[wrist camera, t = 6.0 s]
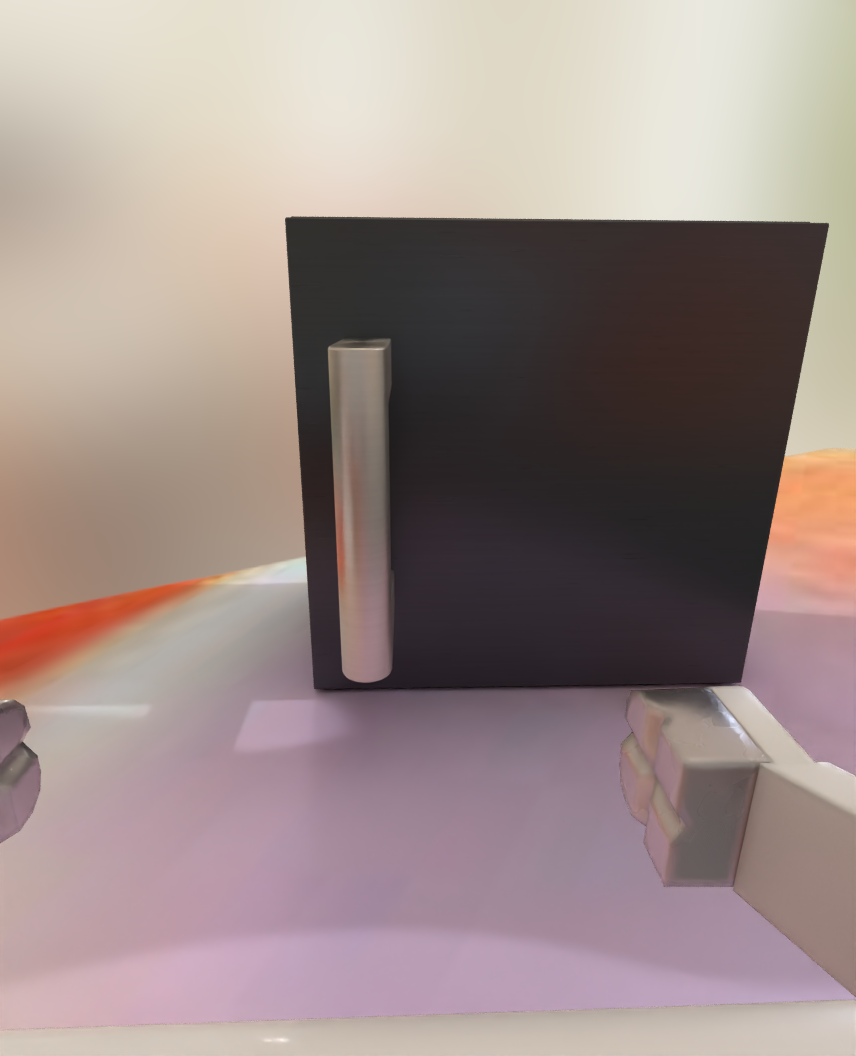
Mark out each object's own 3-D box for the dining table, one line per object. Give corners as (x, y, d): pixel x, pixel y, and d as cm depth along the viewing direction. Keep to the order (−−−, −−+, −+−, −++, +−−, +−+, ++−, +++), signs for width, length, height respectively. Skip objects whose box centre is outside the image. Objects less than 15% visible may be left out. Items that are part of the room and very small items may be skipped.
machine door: (819, 771, 21) (965, 196, 16) (291, 781, 21) (245, 187, 15) (732, 672, 27) (815, 225, 22) (316, 678, 27) (289, 220, 21)
